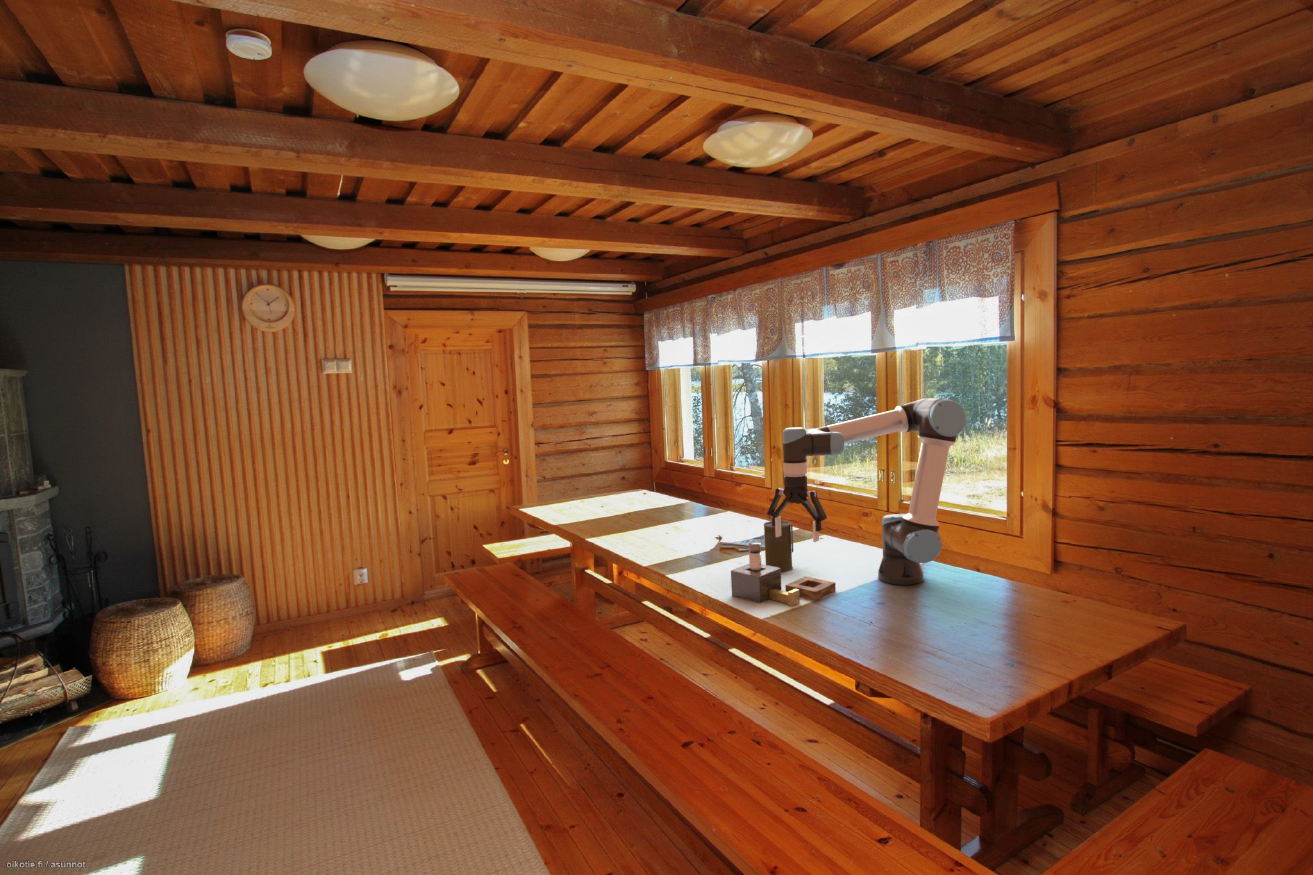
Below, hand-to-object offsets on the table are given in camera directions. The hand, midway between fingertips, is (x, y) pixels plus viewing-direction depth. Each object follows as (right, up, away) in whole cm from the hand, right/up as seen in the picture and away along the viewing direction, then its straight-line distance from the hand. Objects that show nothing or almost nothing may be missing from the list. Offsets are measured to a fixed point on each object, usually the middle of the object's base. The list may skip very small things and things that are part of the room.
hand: (797, 538), depth 224 cm
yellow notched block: (-5, -21, +1) cm, 21 cm away
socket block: (-12, -20, +8) cm, 25 cm away
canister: (+1, -17, +37) cm, 41 cm away
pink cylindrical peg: (-12, -16, +8) cm, 22 cm away
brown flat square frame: (+6, -19, +8) cm, 22 cm away
